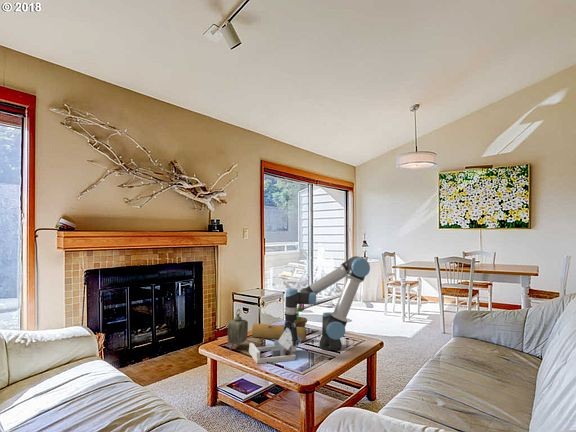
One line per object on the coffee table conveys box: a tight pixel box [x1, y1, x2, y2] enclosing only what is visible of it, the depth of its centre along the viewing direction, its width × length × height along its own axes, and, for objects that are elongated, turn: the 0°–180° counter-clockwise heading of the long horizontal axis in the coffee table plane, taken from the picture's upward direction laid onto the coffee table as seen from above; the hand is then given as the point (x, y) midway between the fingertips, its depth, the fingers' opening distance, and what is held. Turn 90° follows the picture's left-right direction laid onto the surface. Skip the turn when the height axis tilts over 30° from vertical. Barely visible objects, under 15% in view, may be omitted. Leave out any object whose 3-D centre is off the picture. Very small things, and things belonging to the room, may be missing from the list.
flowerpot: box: [294, 304, 308, 328], centre depth 271 cm, size 14×14×30 cm
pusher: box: [270, 339, 286, 357], centre depth 220 cm, size 6×17×6 cm, turn 20°
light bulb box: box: [277, 328, 302, 354], centre depth 224 cm, size 11×7×11 cm
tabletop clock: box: [227, 309, 249, 351], centre depth 233 cm, size 14×9×25 cm, turn 168°
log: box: [251, 323, 307, 342], centre depth 255 cm, size 38×10×10 cm, turn 79°
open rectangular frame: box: [248, 342, 297, 364], centre depth 219 cm, size 24×20×6 cm
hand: (290, 347), depth 224 cm, fingers closed on light bulb box, 12 cm apart
